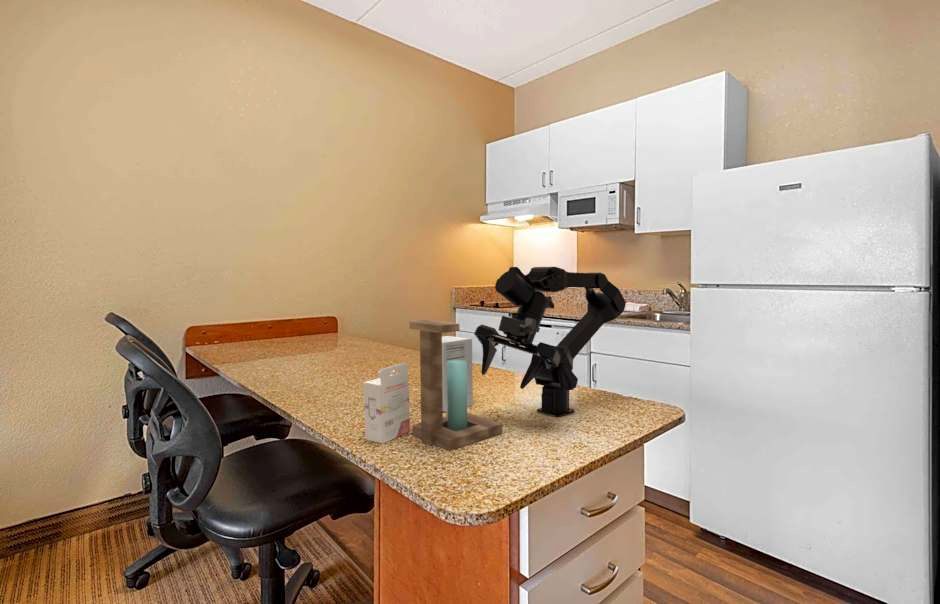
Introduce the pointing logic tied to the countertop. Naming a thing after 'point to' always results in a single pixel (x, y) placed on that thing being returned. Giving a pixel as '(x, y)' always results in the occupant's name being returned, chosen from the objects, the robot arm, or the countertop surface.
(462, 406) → the peg
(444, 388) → the supplement box
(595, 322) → the robot arm
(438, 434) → the socket stand
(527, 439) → the countertop surface
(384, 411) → the ink cartridge box
